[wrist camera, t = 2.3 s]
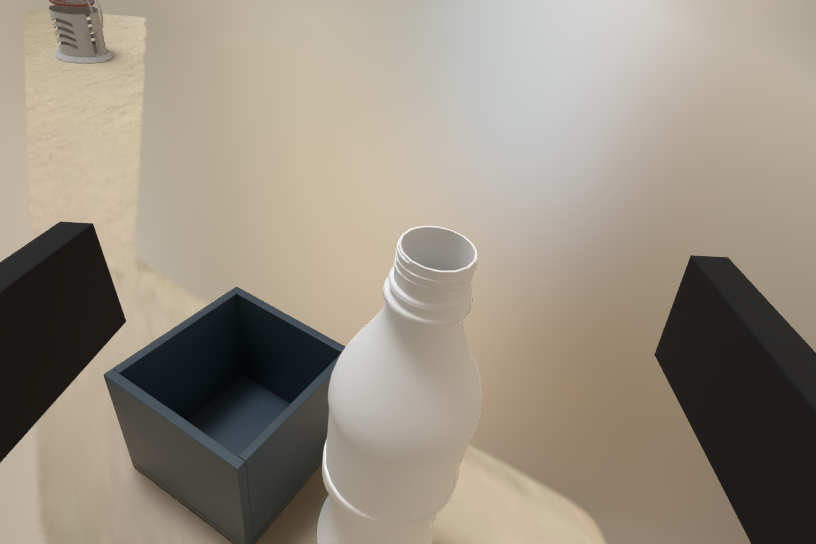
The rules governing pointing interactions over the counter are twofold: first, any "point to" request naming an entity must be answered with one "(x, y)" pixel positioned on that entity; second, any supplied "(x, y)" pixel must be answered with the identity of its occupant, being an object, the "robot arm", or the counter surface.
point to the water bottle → (403, 399)
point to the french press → (79, 31)
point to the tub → (229, 411)
